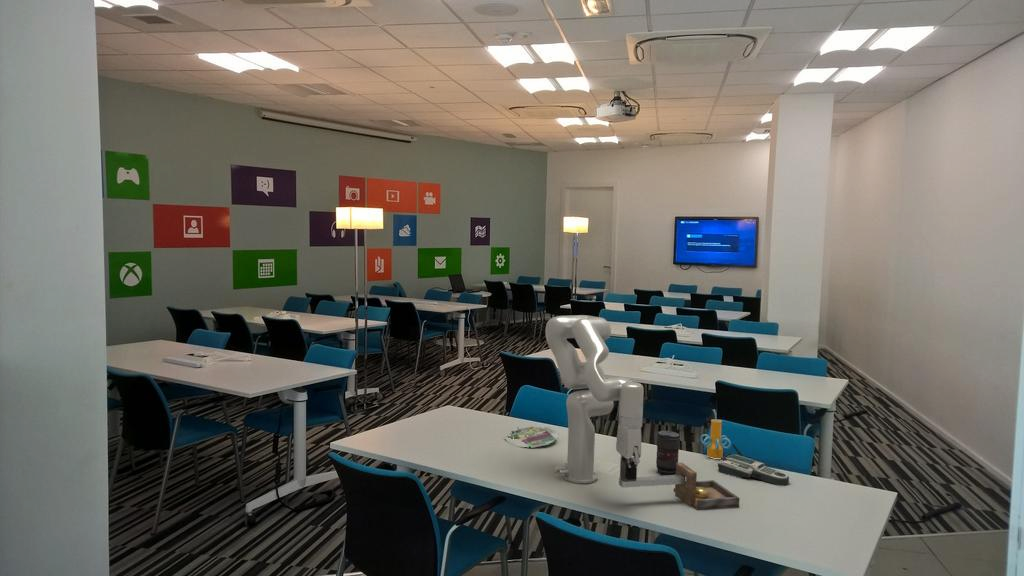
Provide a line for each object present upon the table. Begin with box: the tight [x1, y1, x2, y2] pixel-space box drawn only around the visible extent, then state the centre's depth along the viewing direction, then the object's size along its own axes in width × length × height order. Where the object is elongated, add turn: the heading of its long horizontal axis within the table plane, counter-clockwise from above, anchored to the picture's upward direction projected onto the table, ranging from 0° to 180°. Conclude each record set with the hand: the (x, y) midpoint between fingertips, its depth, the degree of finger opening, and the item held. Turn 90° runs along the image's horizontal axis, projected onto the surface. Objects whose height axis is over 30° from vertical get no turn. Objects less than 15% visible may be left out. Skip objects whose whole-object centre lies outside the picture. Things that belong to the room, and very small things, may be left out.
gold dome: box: [696, 487, 708, 499], centre depth 211 cm, size 4×4×2 cm
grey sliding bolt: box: [618, 458, 686, 489], centre depth 207 cm, size 22×4×8 cm, turn 103°
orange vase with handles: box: [700, 418, 732, 458], centre depth 255 cm, size 12×10×15 cm
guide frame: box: [673, 462, 740, 511], centre depth 211 cm, size 16×16×11 cm
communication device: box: [717, 443, 790, 486], centre depth 234 cm, size 12×24×9 cm, turn 48°
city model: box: [506, 426, 559, 449], centre depth 271 cm, size 25×23×6 cm
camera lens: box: [655, 430, 681, 476], centre depth 235 cm, size 8×8×15 cm
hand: (628, 476), depth 205 cm, fingers closed on grey sliding bolt, 4 cm apart
